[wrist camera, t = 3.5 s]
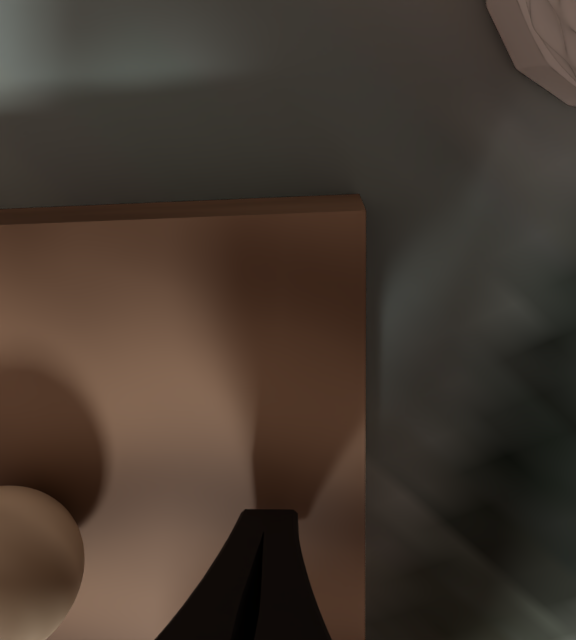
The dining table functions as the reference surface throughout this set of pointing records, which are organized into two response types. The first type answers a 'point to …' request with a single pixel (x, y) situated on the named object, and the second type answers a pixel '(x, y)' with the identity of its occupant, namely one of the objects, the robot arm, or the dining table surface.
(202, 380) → the board
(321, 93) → the dining table surface
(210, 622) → the robot arm
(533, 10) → the white cup
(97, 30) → the dining table surface
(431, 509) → the dining table surface
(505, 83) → the dining table surface
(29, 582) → the ball
